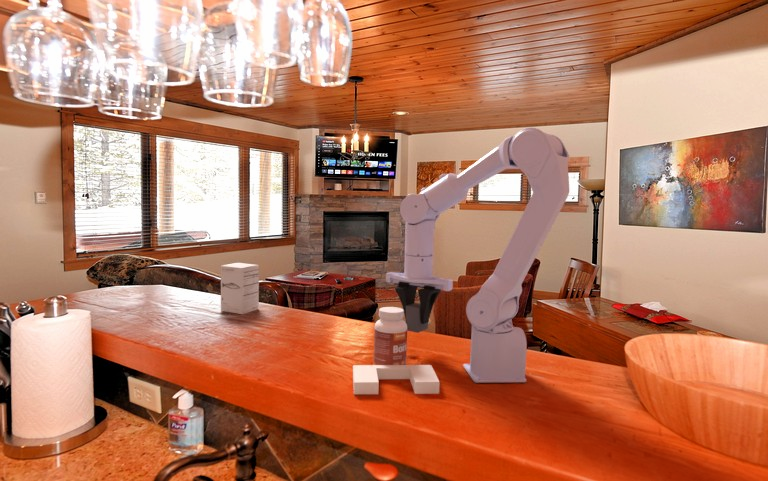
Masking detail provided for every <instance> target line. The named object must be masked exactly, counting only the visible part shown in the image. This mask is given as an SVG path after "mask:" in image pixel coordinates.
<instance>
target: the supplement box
mask: <svg viewBox="0 0 768 481" xmlns="http://www.w3.org/2000/svg"><path fill="white" fill-rule="evenodd" d="M259 289H260V265H259V264H253V263H243V262H234V263H229V264H221V265H220V312H224V313H225V312H227V313H232V314H238V315H245V314H248V313H251V312H254V311H257V310H259V299H260V298H259V297H260V296H259V295H260V290H259Z"/></svg>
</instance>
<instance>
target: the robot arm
mask: <svg viewBox="0 0 768 481" xmlns="http://www.w3.org/2000/svg"><path fill="white" fill-rule="evenodd" d="M569 160H570V154H569V151H568V150H567V149H566V146H565V144H564V142H563V141H562V140H561V139H560V138H559V137H558V136H556V135H554V134H550V133H547V132H544V131H542V130H540V129H539V128H536V127H525V128H523V129H521V130H519V131H518V132H517V133H516V134H514V135H511V136H509V137H506V138H505V139H504V140H503V141H502V142H500V144H499V145H497V146H496V147H494V148H493V149H492V150H491V151H490V152H488V153H486V154H485V155H484V156H482V157H481V158H479V159H478V160H477V161H476V162H473V164H471V165H470V166H468V167H467V168H466V169H464V170H463V171H461V172H460V173H459V174H457V173H454V172H450V173H442V174H440V175H439V176H438V180H437V181H435V182H433V183H432V184H431V185H429V186H428V187H422V188H421V189H420V192H419V193H418V194H417V193H409V194H407V195H406V196H405V197H404V198H403V199H402V201H401V203H400V207H399V212H400V217H401V218H402V219H403V221H404V222H405V223H404V224H405V227H404V228H405V230H404V231H405V232H404V266H403V267H404V270H403V271H404V272H396V271H395V272H393V271H390V272H386V273H385V282H386V283H394V284H395V283H396V284H398V285H397V286H395V287H394V291H395V292H396V295H397V296H398V298H399V301H400V303H401V306H402V309H403V310H404V319H405V320H406V306H407V305H410V304H413V303H416V294H417V293H418V298H419V299H418V300H419V303H420V308H421V309H420V320H421V323H422V324H425V323H427V322H429V319H430V317H431V314H432V310H433V307H434V305H435V302H436V300H437V298H438V297H439V295H440V293H441V291H442V290H443V291H445V292H450V291H452V290H454V288H453V287H454V285H453V284H454V280H453V279H450V278H449V279H447V278H442V277H437V276H435V275H433V273H434V270H433V268H434V242H435V241H434V237H435V228H436V222H437V221H438V219H439V217H440V215H441V214H443V213H445V212H446V211H448V210H450V209H451V208H453V207H454V206H456V205H458V204H460V203H461V202H463V201H465V200H467V196H468V193H469V190H470V189H472V188H474V187H476V186H478V185H479V184H481V183H483V182H485V181H486V180H489V179H490V178H492V177H494V176H496V175H498V174H499V173H501V172H504V171H505V170H520V171H521V172H522V174H525V177H526V178H527V181H528V183H529V185H530V188H531V190H532V195H531V196H530V198H529V200H528V203H527V205H526V207H525V208H524V211H523V213H522V215H521V217H520V219H519V220H518V223H517V225H516V226H515V228H514V231H513V233H512V235H511V237H510V239H509V240H508V242H507V245H506V247H505V248H504V251H503V252H502V254H501V257H500V258H499V261H498V263H497V264H496V267H495V269H494V271H493V273H492V274H491V275H490V276H489V277H488V279H486V281H485V282H484V283H483V284H482V285H481V287H480V289H479V290H478V292H477V293H476V294H474V295H473V296H471V298H469V299H468V301H467V303H466V308H465V312H466V318H467V319H468V321H469V323H470V324H471V333H470V334H471V336H470V337H471V338H470V356H469V357H470V358H469V363H463V364H462V367H463V369H465V371H466V372H467V374H468V375H469V377H470V378H471V380H472V381H473V382H474V383H475V384H476V383H477V384H478V383H479V384H480V383H485V384H486V383H526V382H527V378H526V366H527V365H526V364H527V349H528V348H527V346H528V345H527V336H526V334H525V331H524V329H522V328H521V327H518V326H514V325H513V321H512V319H514V318H515V316H516V315H517V313H518V311H519V309H520V308H519V305H520V303H519V300H520V297H521V295H522V292H523V287H522V286H523V285H522V284H523V283H524V280H525V278H526V276H527V275H528V272H529V270H530V268H532V265H533V263H534V261H535V260H536V258H537V255H538V254H539V252H540V250H541V248H542V246H543V244H544V242H545V240H546V238H547V237H548V235H549V232H550V231H551V229H552V227H553V225H554V224H555V222H556V220H557V217H558V216H559V214H560V212H561V210H562V208H563V206H564V205H565V202H566V201H567V199H568V197H569V193H570V181H569V180H570V177H569V164H568V163H569ZM418 287H421V288H420V289H418Z"/></svg>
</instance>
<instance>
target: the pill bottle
mask: <svg viewBox="0 0 768 481" xmlns="http://www.w3.org/2000/svg"><path fill="white" fill-rule="evenodd" d="M378 317H379V319H378V320H377V321H376V322H375V323H374V333H373V334H374V336H373V338H374V340H373V365H407V352H408V351H407V347H408V345H407V344H408V331H407V324H406V321H405V320H403V319H405V314H404V310H403V308H402V307H395V306H384V307H380V308H379V309H378Z"/></svg>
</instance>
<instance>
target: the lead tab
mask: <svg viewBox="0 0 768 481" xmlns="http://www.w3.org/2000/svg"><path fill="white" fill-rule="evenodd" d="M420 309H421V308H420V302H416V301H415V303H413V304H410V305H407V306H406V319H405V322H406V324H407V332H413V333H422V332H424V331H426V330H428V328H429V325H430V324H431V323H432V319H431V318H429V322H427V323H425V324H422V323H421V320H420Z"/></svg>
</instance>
